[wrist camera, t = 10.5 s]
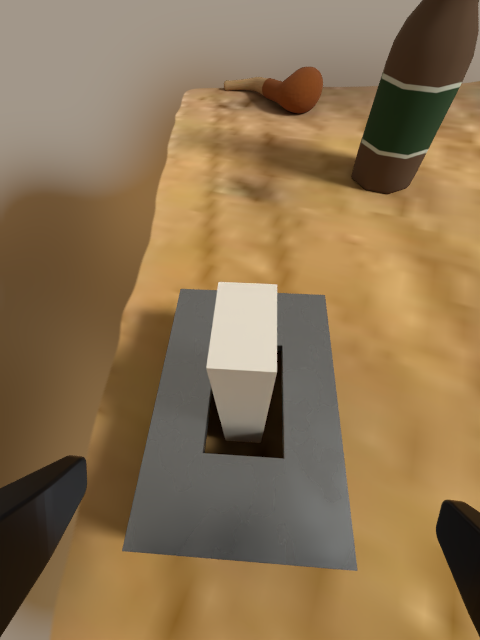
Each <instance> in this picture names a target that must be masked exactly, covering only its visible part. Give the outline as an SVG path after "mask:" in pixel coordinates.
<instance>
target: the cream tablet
mask: <svg viewBox="0 0 480 640" xmlns="http://www.w3.org/2000/svg"><path fill="white" fill-rule="evenodd" d="M206 369H207V373H208V377H209V380H210V384H211V388H212V392H213V395H214V399H215V403H216V407H217V410H218V414H219V418H220V421H221V425H222V429H223V433H224V436H225V440H226V441H240V442H254V443H261V440H262V436H263V431H264V427H265V423H266V418H267V414H268V409H269V405H270V401H271V396H272V392H273V387H274V383H275V379H276V374H277V285H276V284H254V283H231V282H219V283H218V290H217V297H216V304H215V310H214V317H213V324H212V331H211V338H210V345H209V352H208V359H207V366H206Z"/></svg>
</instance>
